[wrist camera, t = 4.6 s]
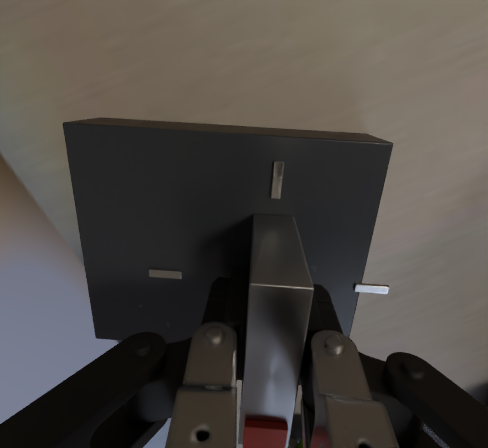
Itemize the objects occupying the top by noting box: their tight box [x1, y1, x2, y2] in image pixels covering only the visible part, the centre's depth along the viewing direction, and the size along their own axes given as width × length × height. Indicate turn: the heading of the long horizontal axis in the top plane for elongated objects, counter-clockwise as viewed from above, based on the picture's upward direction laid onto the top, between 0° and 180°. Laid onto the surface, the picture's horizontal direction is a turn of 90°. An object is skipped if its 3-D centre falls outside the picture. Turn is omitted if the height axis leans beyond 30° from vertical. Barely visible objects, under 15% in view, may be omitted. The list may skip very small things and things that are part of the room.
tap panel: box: [63, 118, 393, 344], centre depth 15 cm, size 11×13×3 cm
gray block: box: [238, 214, 314, 448], centre depth 11 cm, size 6×2×5 cm, turn 177°
